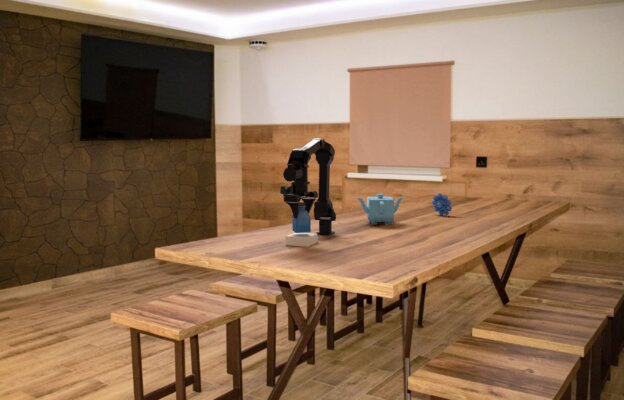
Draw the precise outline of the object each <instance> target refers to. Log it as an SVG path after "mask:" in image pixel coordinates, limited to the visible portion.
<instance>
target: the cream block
mask: <svg viewBox="0 0 624 400" xmlns="http://www.w3.org/2000/svg"><path fill="white" fill-rule="evenodd" d="M316 243H318V234H316V232H315V233H311V232H305V233H295V232H293V233H290V234H288V235H286V236H285V246H295V247H306V248H307V247H310V246H312V245H314V244H316Z"/></svg>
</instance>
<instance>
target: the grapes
mask: <svg viewBox="0 0 624 400" xmlns="http://www.w3.org/2000/svg"><path fill="white" fill-rule="evenodd" d="M432 198H433V200H432V201H431V205H433V206H434V207H433V210H434V212H437V213H438V214H439V215H440V216H443V215H445V216H448V215H449V213H450V212H451V211H452V210H453V207H452V204H453V202H452V201H451V200H449V197H448V196H447V195H445V194H442V193H440V192H439V193H437V195H436V194H435V195H434V196H433V197H432Z"/></svg>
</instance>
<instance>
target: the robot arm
mask: <svg viewBox="0 0 624 400" xmlns="http://www.w3.org/2000/svg"><path fill="white" fill-rule="evenodd" d="M335 154H336V150H335V148H334V146H333V145H332V144H330V143H329V142H328V141H326V140H325V139H324V138H322V137H321V138H319V137H317V138H316V137H315V138H312V139H311V141H309V142H307V144H305V145H304V146H302V147H295V148H293V149H292V150H291V151H290V153H289V158H288V161H287V164H286V165H287V166H286V168H284V170H283V173H282V176H283V178H284V181H287V182H289V183H290V182H291V183H290V184H291V185H290V186H286V185H282V186H280V187H279V188H280V189H279V191H280V194H281V195H282V196H283V197H282V198H283V202H284V203H285V204H286V205H288V206H289V207H290V210H291V212H292V216H294V218H295V219H297V217H298V214H299V210H300V205H301V202H305V210H306V211H307V212H308V214H309V215H310V212H311V210H312V208H313V217H314V218H313V219H314V220H315V221H318V231H317V232H315V234H317V235H325V236H328V235H329V236H330V235H333V234H335V233H336V232H335V231H333V229H332V226H333V225H332V224H333V223H332V222H335V221H336V220H337V214H336V211H335V210H334V208H333V207H334V206H333V201H331V199H330V182H331V181H330V180H331V179H330V177H331V176H330V175H331V173H330V172H331V170H330V169H331V165H332V163H333V161H334V159H335V158H334V157H335ZM312 155H314V156H315V160H316V162H317V165H318V191H316V190H309V185H310V184H311V183H310V182H311V181H309V178H308V177H309V175H308V174H309V173H308V171H309V170H308V168H310V166H309V162H310V160H311V159H312ZM313 206H314V207H313Z"/></svg>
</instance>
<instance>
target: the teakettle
mask: <svg viewBox="0 0 624 400" xmlns="http://www.w3.org/2000/svg"><path fill="white" fill-rule="evenodd" d="M405 198H406V197H405V196H404V197H402V196H401V197H398V198H397V199H396V201H395V199H394V198H393V197H391V196H385V195H384V193H377V194H376V196H367V199H366V200H367V203H365V200H364V198H362V197H356V199H357V200H358V201H359V202H360V204H361V207H362V210H363V212H364V213H365V214H367V219H368V221H369V223H370V226H371V225H372V226H373V225H374V226H375V225H377V224H378V223H379V222H381V223H384V224H385V225H387V226H389V225H392V223H391V222H395V218H394V217H395V213H396V212H397V211H398V210H399V207H400V203H401V201H402V200H403V199H405ZM366 204H367V205H366Z"/></svg>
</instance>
